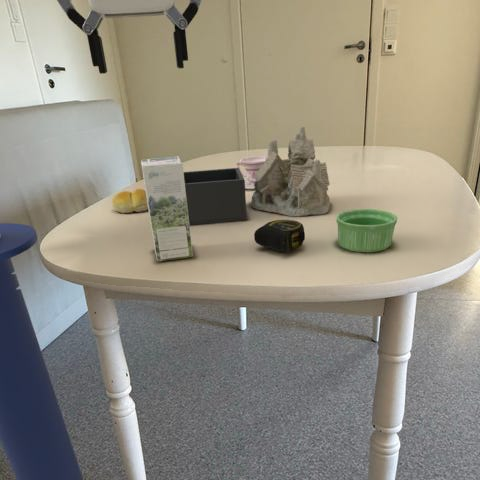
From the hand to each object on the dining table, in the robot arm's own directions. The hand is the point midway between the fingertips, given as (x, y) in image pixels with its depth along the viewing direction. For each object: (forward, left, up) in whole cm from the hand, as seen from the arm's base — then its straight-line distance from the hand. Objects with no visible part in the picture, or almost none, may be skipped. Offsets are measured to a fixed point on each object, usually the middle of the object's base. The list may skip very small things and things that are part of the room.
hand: (142, 70), depth 56 cm
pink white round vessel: (+19, +49, -26) cm, 59 cm away
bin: (+8, +25, -26) cm, 37 cm away
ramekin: (+31, 0, -26) cm, 40 cm away
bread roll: (-10, +35, -26) cm, 45 cm away
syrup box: (+1, +3, -26) cm, 26 cm away
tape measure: (+17, +1, -26) cm, 31 cm away
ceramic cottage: (+23, +26, -26) cm, 44 cm away
